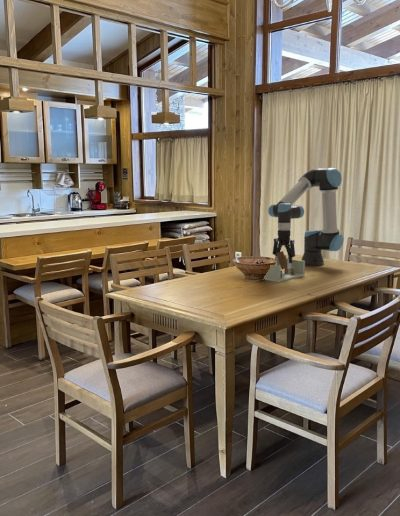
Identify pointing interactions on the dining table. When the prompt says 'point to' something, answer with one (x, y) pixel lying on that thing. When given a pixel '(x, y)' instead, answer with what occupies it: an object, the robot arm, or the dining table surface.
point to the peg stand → (286, 271)
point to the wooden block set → (282, 259)
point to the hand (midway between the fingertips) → (283, 267)
